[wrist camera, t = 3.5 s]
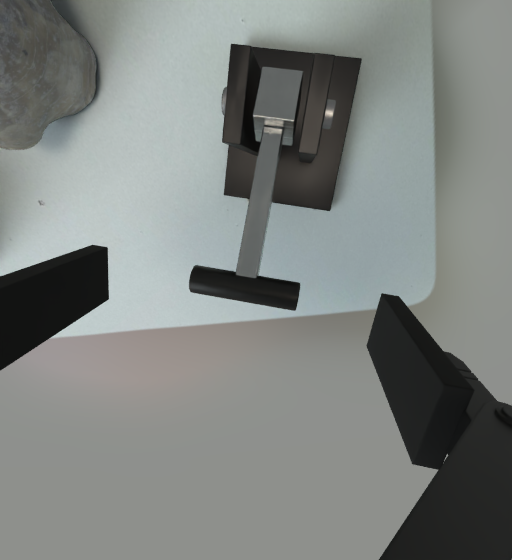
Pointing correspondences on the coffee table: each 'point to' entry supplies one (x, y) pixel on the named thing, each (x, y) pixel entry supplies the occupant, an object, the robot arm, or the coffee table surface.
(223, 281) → the lever
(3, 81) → the decorative stone
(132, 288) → the coffee table surface
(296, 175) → the bracket
